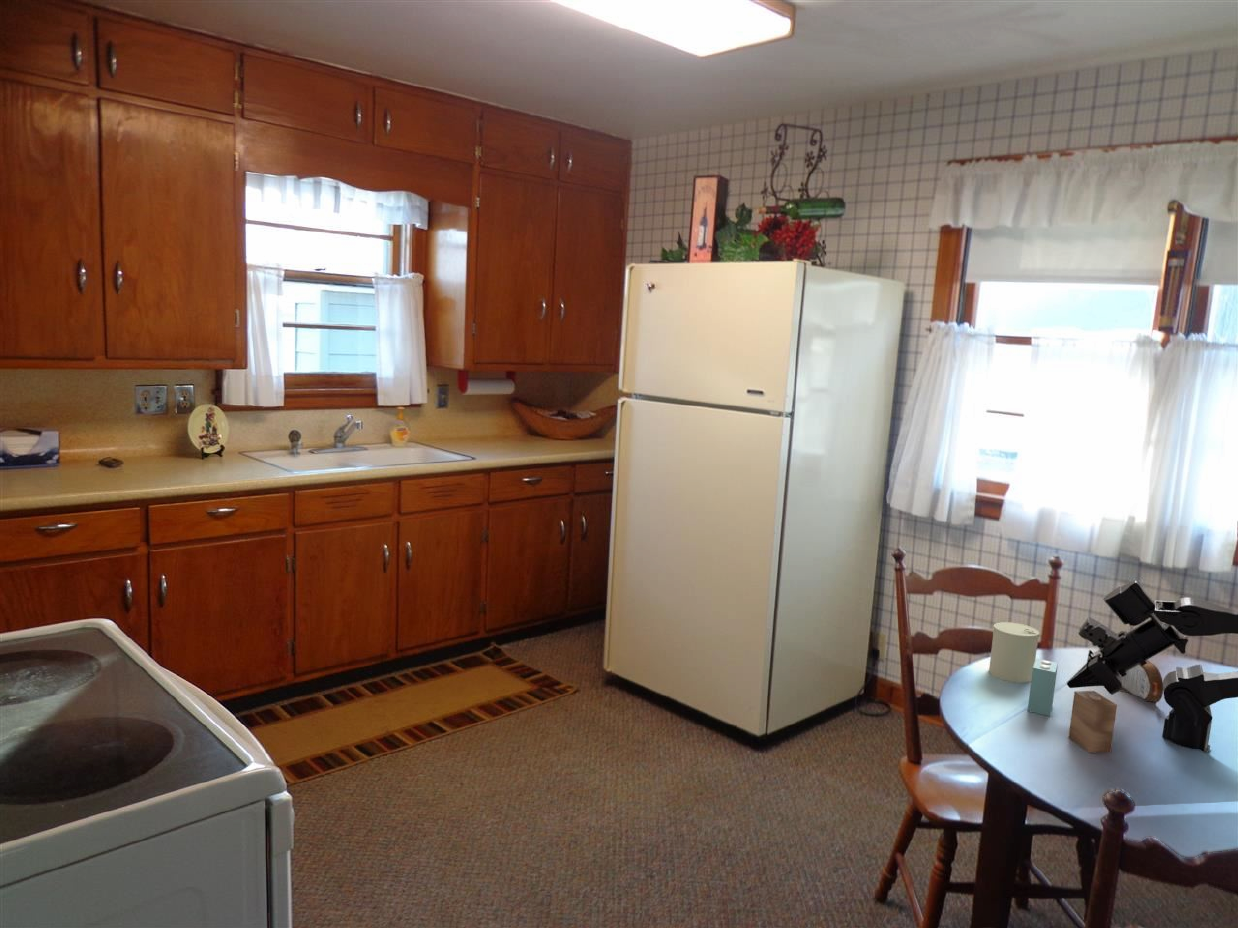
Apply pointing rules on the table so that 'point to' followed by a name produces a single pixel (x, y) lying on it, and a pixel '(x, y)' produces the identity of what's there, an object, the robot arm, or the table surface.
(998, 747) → the table surface
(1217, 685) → the robot arm
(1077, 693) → the brown box
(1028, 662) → the can
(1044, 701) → the teal block
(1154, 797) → the table surface
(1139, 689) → the tin
